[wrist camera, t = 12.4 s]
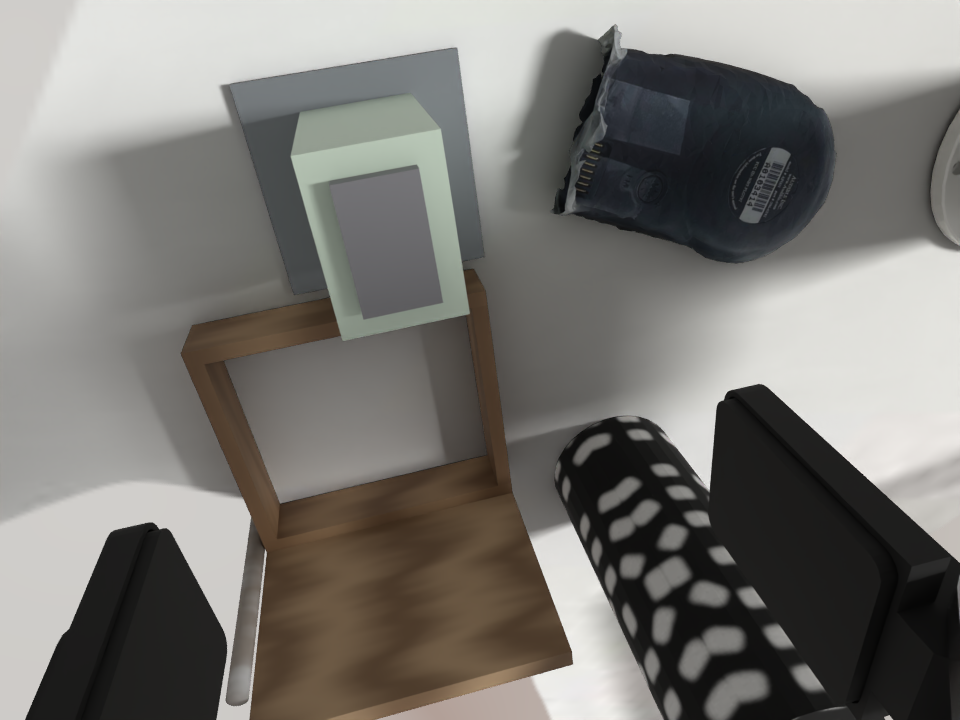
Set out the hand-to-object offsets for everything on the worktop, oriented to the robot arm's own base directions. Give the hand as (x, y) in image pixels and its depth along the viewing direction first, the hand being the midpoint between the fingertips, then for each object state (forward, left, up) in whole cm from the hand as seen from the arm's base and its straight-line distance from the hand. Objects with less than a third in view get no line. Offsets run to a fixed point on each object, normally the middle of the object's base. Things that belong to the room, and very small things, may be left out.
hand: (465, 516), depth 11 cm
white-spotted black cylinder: (-12, +22, -24) cm, 34 cm away
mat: (0, 0, -24) cm, 24 cm away
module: (0, 0, -23) cm, 23 cm away
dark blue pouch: (-17, +2, -24) cm, 29 cm away
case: (+3, +12, -24) cm, 27 cm away
